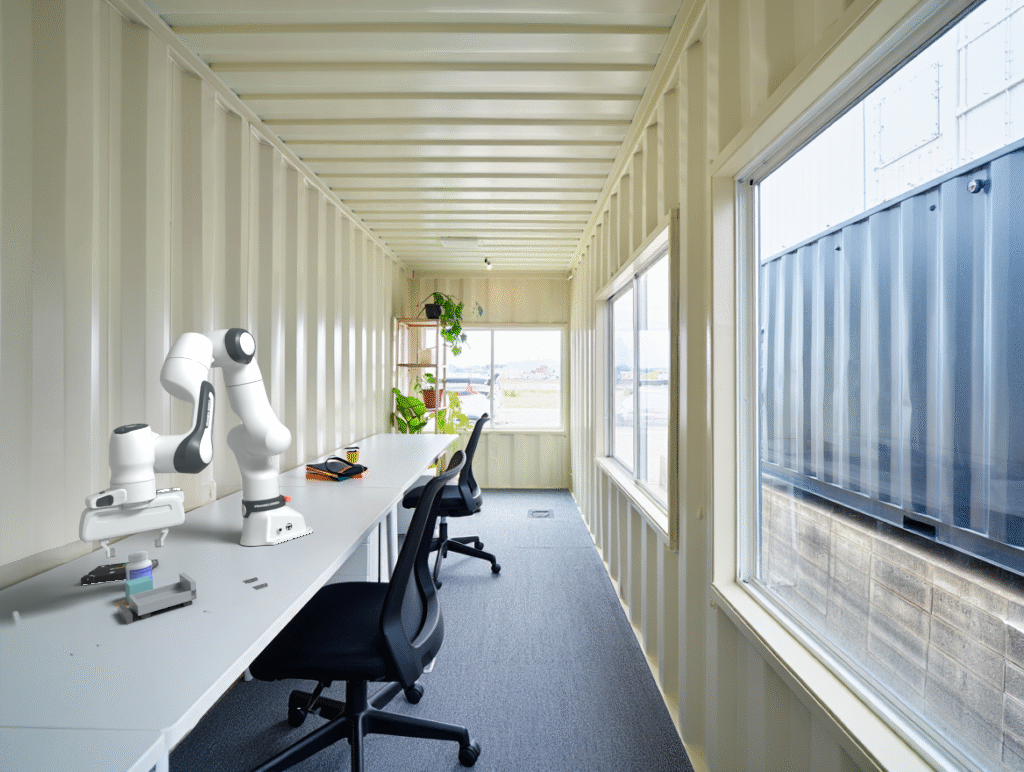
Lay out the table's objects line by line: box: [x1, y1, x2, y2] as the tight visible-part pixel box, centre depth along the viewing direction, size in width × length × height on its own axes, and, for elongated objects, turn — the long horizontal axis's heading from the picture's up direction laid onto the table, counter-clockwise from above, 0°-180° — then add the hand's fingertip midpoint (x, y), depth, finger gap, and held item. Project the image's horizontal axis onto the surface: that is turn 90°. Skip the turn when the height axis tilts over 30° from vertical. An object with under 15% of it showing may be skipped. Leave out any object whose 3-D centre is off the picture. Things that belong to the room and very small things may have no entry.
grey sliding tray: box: [129, 572, 197, 620], centre depth 118 cm, size 11×9×6 cm
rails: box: [118, 577, 269, 625], centre depth 123 cm, size 29×8×3 cm, turn 137°
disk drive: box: [80, 558, 160, 586], centre depth 144 cm, size 10×3×15 cm
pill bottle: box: [125, 550, 154, 581], centre depth 131 cm, size 5×5×10 cm
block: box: [124, 576, 154, 603], centre depth 123 cm, size 4×4×4 cm
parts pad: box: [113, 599, 131, 610], centre depth 123 cm, size 9×6×1 cm, turn 137°
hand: (135, 551), depth 123 cm, fingers open, 8 cm apart
